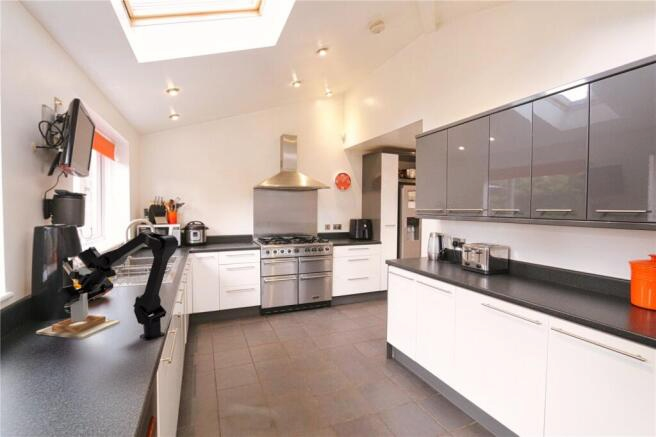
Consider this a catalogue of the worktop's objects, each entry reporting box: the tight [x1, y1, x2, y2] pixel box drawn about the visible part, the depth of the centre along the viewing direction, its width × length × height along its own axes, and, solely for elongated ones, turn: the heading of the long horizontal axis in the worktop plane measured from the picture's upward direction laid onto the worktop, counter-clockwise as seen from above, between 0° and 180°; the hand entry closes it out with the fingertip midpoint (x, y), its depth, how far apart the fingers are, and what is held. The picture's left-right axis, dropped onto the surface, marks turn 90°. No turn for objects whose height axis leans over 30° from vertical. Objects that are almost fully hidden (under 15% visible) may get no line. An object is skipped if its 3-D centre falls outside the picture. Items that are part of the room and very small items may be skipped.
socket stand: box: [35, 314, 121, 340], centre depth 125 cm, size 22×16×3 cm
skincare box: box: [69, 287, 89, 322], centre depth 125 cm, size 6×4×12 cm
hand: (76, 302), depth 125 cm, fingers closed on skincare box, 7 cm apart
